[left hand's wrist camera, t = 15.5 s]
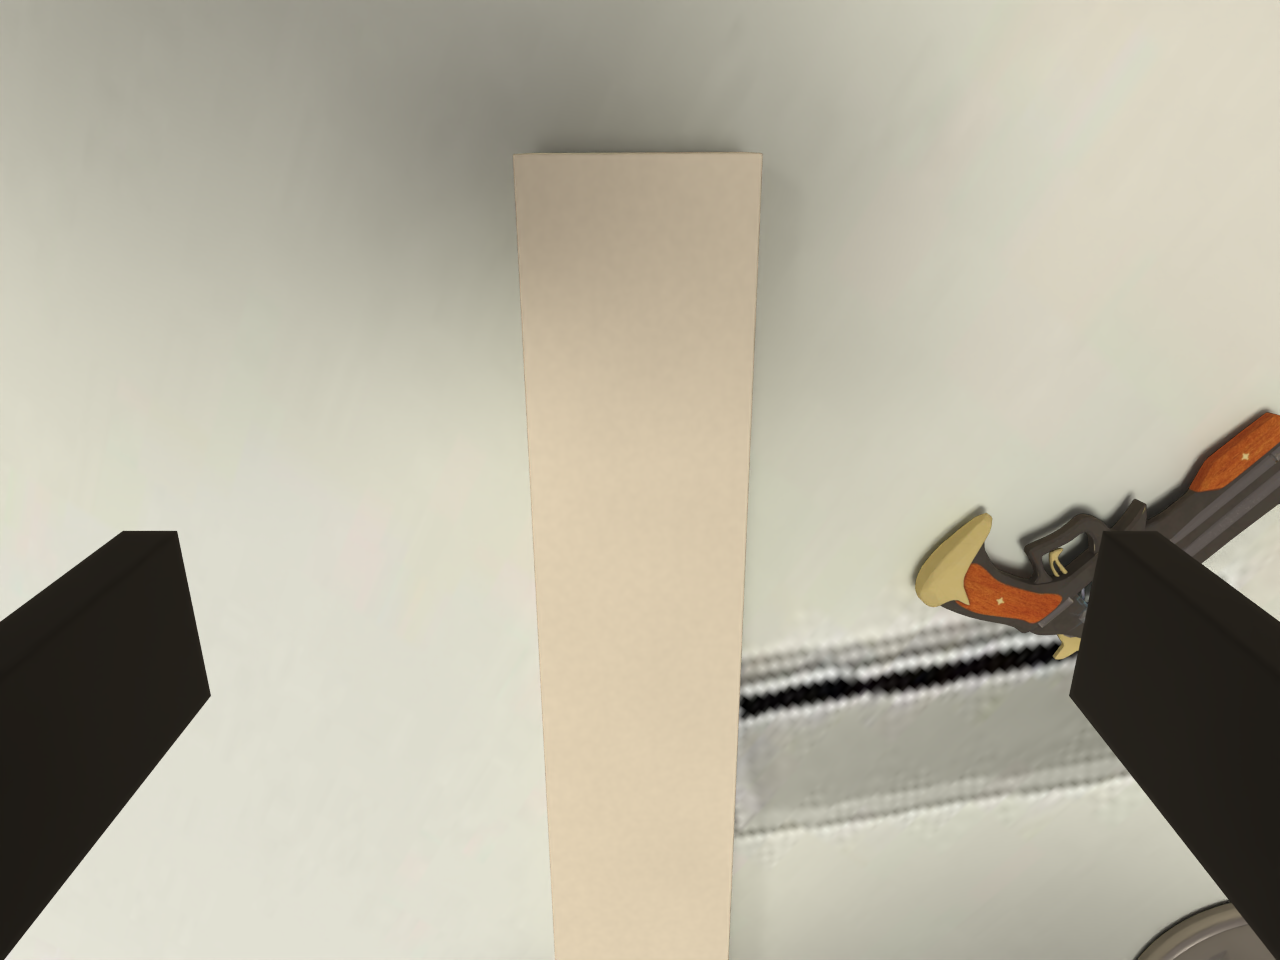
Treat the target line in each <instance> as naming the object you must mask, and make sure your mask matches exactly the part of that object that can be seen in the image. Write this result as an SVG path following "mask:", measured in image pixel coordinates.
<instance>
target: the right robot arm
mask: <svg viewBox="0 0 1280 960" xmlns="http://www.w3.org/2000/svg"><path fill="white" fill-rule="evenodd" d="M1138 960H1276V959H1275V958H1274V957H1273V955H1272V954H1271V953H1270V952H1269V950H1268V949H1267V948H1266V946H1265V945H1264V944H1263V943H1262V941H1261V940H1260V939H1259V938H1258V936H1257V935H1256V934H1255V932H1254V931H1253V930H1252V929H1251V927H1250V926H1249V925H1248V923H1247V922H1246V921H1245V920H1244V918H1243V917H1242V916H1241V915H1240V913H1239V912H1238V911H1237V909H1236V908H1235V907H1234V906H1233V904H1232V903H1228V904H1224V905H1221V906H1218V907H1215V908H1212V909H1209V910H1206V911H1204V912H1201V913H1199V914H1196V915H1194V916H1192V917H1190V918H1188V919H1186V920H1184V921H1183V922H1181V923H1179V924H1177V925H1176V926H1174V927H1173V928H1171V929H1170V930H1168V931H1167V932H1165V933H1164V934H1163V935H1161V936H1160V937H1159V938H1158V939H1156V940H1155V941H1154V942H1153V943H1152V944H1151V945H1150V946H1149V947H1148V948H1147V949H1146V950H1145V951H1144V952H1143V953H1142V954H1141V956H1140V957H1139V958H1138Z"/></svg>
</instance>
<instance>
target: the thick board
mask: <svg viewBox="0 0 1280 960" xmlns="http://www.w3.org/2000/svg"><path fill="white" fill-rule="evenodd" d="M762 158H763V154H762V153H752V152H641V153H526V154H514V155H513V168H514V187H515V206H516V225H517V244H518V263H519V282H520V301H521V320H522V339H523V358H524V377H525V396H526V415H527V434H528V453H529V472H530V491H531V510H532V529H533V548H534V567H535V586H536V605H537V624H538V643H539V662H540V681H541V700H542V719H543V738H544V757H545V776H546V794H547V813H548V832H549V851H550V870H551V889H552V908H553V927H554V946H555V960H728V958H729V934H730V911H731V887H732V864H733V840H734V817H735V793H736V770H737V746H738V723H739V699H740V676H741V652H742V629H743V605H744V581H745V558H746V534H747V511H748V487H749V464H750V440H751V417H752V393H753V370H754V346H755V323H756V299H757V276H758V252H759V229H760V205H761V182H762Z"/></svg>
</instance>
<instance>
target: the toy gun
mask: <svg viewBox="0 0 1280 960" xmlns="http://www.w3.org/2000/svg"><path fill="white" fill-rule="evenodd" d="M1278 504H1280V415H1276V414H1272V413H1265V414H1264V415H1262V416H1261V417H1260V418H1258V419H1257V420H1256V421H1254V422H1253V423H1252V424H1251V425H1249V426H1248V427H1247V428H1245V429H1244V430H1243V431H1241V432H1240V433H1239V434H1238V435H1236V436H1235V437H1234V438H1232V439H1231V440H1230V441H1229V442H1227V443H1226V444H1225V445H1223V446H1222V447H1221V448H1220V449H1218V450H1217V451H1216V452H1214V453H1213V454H1212V455H1211V456H1209V457H1208V458H1207V459H1206V460H1205V461H1204V463H1203V465H1202V466H1201V468H1200V470H1199V471H1198V473H1197V475H1196V476H1195V478H1194V480H1193V482H1192V483H1191V485H1190V487H1189V490H1188V491H1187V492H1186V493H1185V494H1184V495H1183V496H1182V497H1180V498H1179V499H1178V500H1177V501H1175V502H1174V503H1173V504H1172V505H1170V506H1169V507H1168V508H1167V509H1165V510H1164V511H1162V512H1161V513H1160V514H1158V515H1156V516H1154V517H1153V518H1151V519H1149V520H1147V521H1146V519H1147V507H1146V504H1145V503H1143V502H1141V501H1139V500H1136V499H1134V500H1133V501H1132V503H1131V504H1130V506H1129V507H1128V509H1127V510H1126V512H1125V513H1124V514H1123V516H1122V517H1121V518H1120V519H1119V520H1118V521H1117V523H1116V524H1115V525H1114V526H1113V527H1112V528H1108V527H1107V525H1106V524H1105V523H1104V522H1103V521H1101V520H1099V519H1098V518H1096V517H1094V516H1091V515H1088V514H1079V515H1077V516H1075V517H1074V518H1072V519H1071V520H1070V521H1069V522H1068V523H1067V524H1065V525H1064V526H1063V527H1061V528H1060V529H1058V530H1057V531H1055V532H1054V533H1052V534H1050V535H1048V536H1046V537H1044V538H1041V539H1039V540H1037V541H1035V542H1032V543H1030V544H1028V545H1027V546H1025V548H1024V551H1025V553H1026V555H1027V556H1028V558H1029V559H1030V561H1031V563H1032V565H1033V570H1034V572H1033V574H1032V576H1031V577H1030V578H1021V577H1017V576H1015V575H1012V574H1009V573H1006V572H1004V571H1001V570H999V569H997V568H996V567H995V566H994V565H993V563H992V562H991V561H990V559H989V557H988V555H987V554H986V552H985V548H984V541H985V539H986V538H987V536H988V534H989V532H990V529H991V525H992V517H991V516H990V515H989V514H987V513H984V514H982V515H979V516H977V517H975V518H973V519H972V520H971V521H969V522H968V523H966V524H965V525H964V526H962V527H961V528H960V529H959V530H957V531H956V532H955V533H954V534H953V535H951V536H950V537H949V538H948V539H947V540H945V541H944V542H943V543H942V544H941V545H940V546H939V547H938V548H937V549H936V550H935V551H934V552H933V553H932V554H931V555H930V557H929V558H928V559H927V560H926V562H925V563H924V564H923V566H922V567H921V569H920V571H919V573H918V575H917V579H916V584H915V589H916V593H917V596H918V597H919V598H920V599H921V600H922V601H923V602H924V603H925V604H926V605H928V606H930V607H937V606H942V607H944V608H946V609H949V610H951V611H954V612H956V613H959V614H962V615H965V616H968V617H971V618H975V619H980V620H984V621H990V622H995V623H1001V624H1006V625H1009V626H1012V627H1015V628H1016V629H1018V630H1019V631H1021V632H1022V633H1027V632H1029V631H1030V632H1032V633H1034V634H1037V635H1056V634H1057V636H1058V637H1059V639H1060V640H1061V642H1062V644H1061V646H1060V647H1059V648H1058V650H1057V651H1056V652H1055V654H1054V655H1053V657H1054V658H1055V659H1063V658H1065V657H1067V656H1069V655H1071V654H1072V653H1074V652H1076V651H1078V650H1079V645H1080V641H1081V636H1082V631H1083V626H1084V621H1085V616H1086V611H1087V606H1088V603H1086V602H1085V601H1084V600H1085V593H1084V588H1085V587H1086V586H1087V585H1088V584H1089V583H1090V582H1092V581H1093V577H1094V572H1095V567H1096V563H1097V558H1098V553H1099V548H1100V543H1101V538H1102V533H1103V531H1158V532H1159V533H1160V534H1162V535H1163V536H1164V537H1166V538H1167V539H1169V540H1170V541H1171V542H1173V543H1174V544H1175V545H1177V546H1178V547H1179V548H1181V549H1182V550H1183V551H1185V552H1186V553H1187V554H1189V555H1190V556H1191V557H1193V558H1194V559H1196V560H1197V561H1198V562H1200V563H1201V564H1202V563H1203V562H1204V561H1205V560H1206V559H1208V558H1209V557H1210V556H1211V555H1213V554H1214V553H1215V552H1217V551H1218V550H1219V549H1220V548H1222V547H1223V546H1224V545H1225V544H1227V543H1228V542H1229V541H1230V540H1232V539H1233V538H1234V537H1236V536H1237V535H1238V534H1239V533H1241V532H1242V531H1243V530H1245V529H1246V528H1247V527H1249V526H1250V525H1251V524H1253V523H1254V522H1255V521H1257V520H1258V519H1259V518H1261V517H1262V516H1263V515H1265V514H1266V513H1267V512H1269V511H1270V510H1271V509H1273V508H1274V507H1275V506H1277V505H1278ZM1083 532H1085V533H1086V534H1087V536H1088V542H1089V547H1088V549H1086V550H1085V551H1084V552H1083V553H1082V554H1080V555H1079V556H1078V557H1077V558H1076V559H1074V560H1073V561H1072V562H1071V563H1070V564H1068V565H1067V566H1066V567H1065V568H1064V567H1063V566H1062V565H1061V563H1060V562H1059V560H1058V556H1059V555H1060V553H1061V552H1062V551H1063V548H1058V547H1060V546H1062V545H1064V544H1066V543H1068V542H1070V541H1071V540H1073V539H1074V538H1075V537H1077V536H1078V535H1079V534H1081V533H1083ZM1056 548H1057V549H1056ZM1048 552H1049V563H1050V568H1051V570H1052V572H1053V574H1054V575H1051V576H1049V575H1048V574H1047V573H1046V571H1045V570H1044V567H1043V563H1042V556H1043V555H1044V554H1046V553H1048ZM1053 561H1055V563H1056V564H1057V566H1058V567H1059V568H1060V570H1061V571H1059V572H1058V573H1057V572H1056V570H1055V568H1054V566H1053ZM1080 591H1081V597H1082V598H1081V597H1080V596H1079V595H1078V593H1079V592H1080Z"/></svg>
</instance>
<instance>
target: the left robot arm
mask: <svg viewBox="0 0 1280 960" xmlns="http://www.w3.org/2000/svg"><path fill="white" fill-rule="evenodd" d="M210 696H211V694H210V689H209V684H208V680H207V675H206V670H205V665H204V660H203V655H202V650H201V645H200V641H199V636H198V631H197V626H196V621H195V616H194V611H193V606H192V602H191V597H190V592H189V587H188V582H187V577H186V572H185V567H184V563H183V558H182V553H181V548H180V543H179V538H178V533H177V531H122V532H121V533H120V534H118V535H117V536H116V537H114V538H113V539H111V540H110V541H109V542H107V543H106V544H105V545H103V546H102V547H101V548H99V549H98V550H97V551H95V552H94V553H93V554H91V555H90V556H89V557H87V558H86V559H84V560H83V561H82V562H80V563H79V564H78V565H76V566H75V567H74V568H72V569H71V570H70V571H68V572H67V573H66V574H64V575H63V576H62V577H60V578H59V579H57V580H56V581H55V582H53V583H52V584H51V585H49V586H48V587H47V588H45V589H44V590H43V591H41V592H40V593H39V594H37V595H36V596H35V597H33V598H32V599H30V600H29V601H28V602H26V603H25V604H24V605H22V606H21V607H20V608H18V609H17V610H16V611H14V612H13V613H12V614H10V615H9V616H8V617H6V618H5V619H3V620H2V621H1V622H0V960H4V959H5V958H6V957H7V955H8V954H9V953H10V952H11V950H12V949H13V948H14V946H15V945H16V944H17V943H18V941H19V940H20V939H21V938H22V936H23V935H24V934H25V932H26V931H27V930H28V929H29V927H30V926H31V925H32V923H33V922H34V921H35V920H36V918H37V917H38V916H39V915H40V913H41V912H42V911H43V909H44V908H45V907H46V906H47V904H48V903H49V902H50V900H51V899H52V898H53V897H54V895H55V894H56V893H57V892H58V890H59V889H60V888H61V886H62V885H63V884H64V883H65V881H66V880H67V879H68V878H69V876H70V875H71V874H72V872H73V871H74V870H75V869H76V867H77V866H78V865H79V863H80V862H81V861H82V860H83V858H84V857H85V856H86V855H87V853H88V852H89V851H90V849H91V848H92V847H93V846H94V844H95V843H96V842H97V841H98V839H99V838H100V837H101V835H102V834H103V833H104V832H105V830H106V829H107V828H108V826H109V825H110V824H111V823H112V821H113V820H114V819H115V818H116V816H117V815H118V814H119V812H120V811H121V810H122V809H123V807H124V806H125V805H126V803H127V802H128V801H129V800H130V798H131V797H132V796H133V795H134V793H135V792H136V791H137V789H138V788H139V787H140V786H141V784H142V783H143V782H144V781H145V779H146V778H147V777H148V775H149V774H150V773H151V772H152V770H153V769H154V768H155V766H156V765H157V764H158V763H159V761H160V760H161V759H162V758H163V756H164V755H165V754H166V752H167V751H168V750H169V749H170V747H171V746H172V745H173V743H174V742H175V741H176V740H177V738H178V737H179V736H180V735H181V733H182V732H183V731H184V729H185V728H186V727H187V726H188V724H189V723H190V722H191V721H192V719H193V718H194V717H195V715H196V714H197V713H198V712H199V710H200V709H201V708H202V706H203V705H204V704H205V703H206V701H207V700H208V699H209V698H210ZM1069 696H1070V698H1071V699H1072V700H1073V701H1074V703H1075V704H1076V705H1077V706H1078V708H1079V709H1080V710H1081V712H1082V713H1083V714H1084V715H1085V717H1086V718H1087V719H1088V721H1089V722H1090V723H1091V724H1092V726H1093V727H1094V728H1095V729H1096V731H1097V732H1098V733H1099V735H1100V736H1101V737H1102V738H1103V740H1104V741H1105V742H1106V743H1107V745H1108V746H1109V747H1110V749H1111V750H1112V751H1113V752H1114V754H1115V755H1116V756H1117V758H1118V759H1119V760H1120V761H1121V763H1122V764H1123V765H1124V766H1125V768H1126V769H1127V770H1128V772H1129V773H1130V774H1131V775H1132V777H1133V778H1134V779H1135V781H1136V782H1137V783H1138V784H1139V786H1140V787H1141V788H1142V789H1143V791H1144V792H1145V793H1146V795H1147V796H1148V797H1149V798H1150V800H1151V801H1152V802H1153V803H1154V805H1155V806H1156V807H1157V809H1158V810H1159V811H1160V812H1161V814H1162V815H1163V816H1164V818H1165V819H1166V820H1167V821H1168V823H1169V824H1170V825H1171V826H1172V828H1173V829H1174V830H1175V832H1176V833H1177V834H1178V835H1179V837H1180V838H1181V839H1182V841H1183V842H1184V843H1185V844H1186V846H1187V847H1188V848H1189V849H1190V851H1191V852H1192V853H1193V855H1194V856H1195V857H1196V858H1197V860H1198V861H1199V862H1200V863H1201V865H1202V866H1203V867H1204V869H1205V870H1206V871H1207V872H1208V874H1209V875H1210V876H1211V878H1212V879H1213V880H1214V881H1215V883H1216V884H1217V885H1218V886H1219V888H1220V889H1221V890H1222V892H1223V893H1224V894H1225V895H1226V897H1227V898H1228V899H1229V900H1230V902H1231V903H1232V904H1233V906H1234V907H1235V908H1236V909H1237V911H1238V912H1239V913H1240V915H1241V916H1242V917H1243V918H1244V920H1245V921H1246V922H1247V923H1248V925H1249V926H1250V927H1251V929H1252V930H1253V931H1254V932H1255V934H1256V935H1257V936H1258V938H1259V939H1260V940H1261V941H1262V943H1263V944H1264V945H1265V946H1266V948H1267V949H1268V950H1269V952H1270V953H1271V954H1272V955H1273V957H1274V958H1275V959H1276V960H1280V622H1279V621H1278V620H1277V619H1275V618H1274V617H1272V616H1271V615H1270V614H1268V613H1267V612H1266V611H1264V610H1263V609H1262V608H1260V607H1259V606H1258V605H1256V604H1255V603H1254V602H1252V601H1251V600H1250V599H1248V598H1247V597H1245V596H1244V595H1243V594H1241V593H1240V592H1239V591H1237V590H1236V589H1235V588H1233V587H1232V586H1231V585H1229V584H1228V583H1227V582H1225V581H1224V580H1223V579H1221V578H1220V577H1218V576H1217V575H1216V574H1214V573H1213V572H1212V571H1210V570H1209V569H1208V568H1206V567H1205V566H1204V565H1202V564H1201V563H1200V562H1198V561H1197V560H1196V559H1194V558H1193V557H1191V556H1190V555H1189V554H1187V553H1186V552H1185V551H1183V550H1182V549H1181V548H1179V547H1178V546H1177V545H1175V544H1174V543H1173V542H1171V541H1170V540H1169V539H1167V538H1166V537H1164V536H1163V535H1162V534H1160V533H1159V532H1158V531H1103V533H1102V538H1101V543H1100V548H1099V553H1098V558H1097V563H1096V567H1095V572H1094V577H1093V582H1092V587H1091V592H1090V597H1089V602H1088V606H1087V611H1086V616H1085V621H1084V626H1083V631H1082V636H1081V641H1080V645H1079V650H1078V655H1077V660H1076V665H1075V670H1074V675H1073V680H1072V684H1071V689H1070V694H1069Z"/></svg>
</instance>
